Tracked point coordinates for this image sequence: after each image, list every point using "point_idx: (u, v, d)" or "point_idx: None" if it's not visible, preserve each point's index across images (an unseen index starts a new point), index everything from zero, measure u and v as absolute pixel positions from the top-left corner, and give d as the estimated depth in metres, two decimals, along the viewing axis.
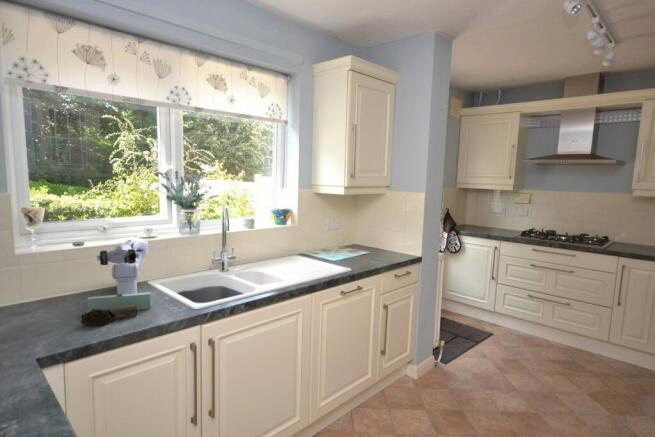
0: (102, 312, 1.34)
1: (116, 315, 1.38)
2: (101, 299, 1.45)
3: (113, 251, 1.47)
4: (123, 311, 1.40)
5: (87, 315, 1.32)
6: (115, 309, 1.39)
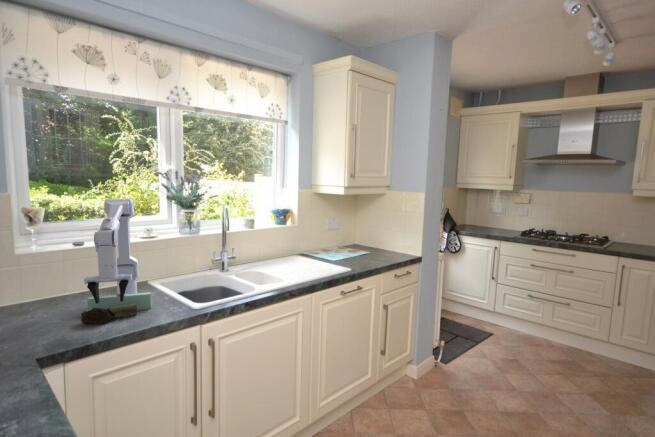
0: (101, 311, 1.35)
1: (116, 314, 1.39)
2: (101, 299, 1.45)
3: None
4: (123, 310, 1.40)
5: (87, 313, 1.33)
6: (115, 308, 1.40)
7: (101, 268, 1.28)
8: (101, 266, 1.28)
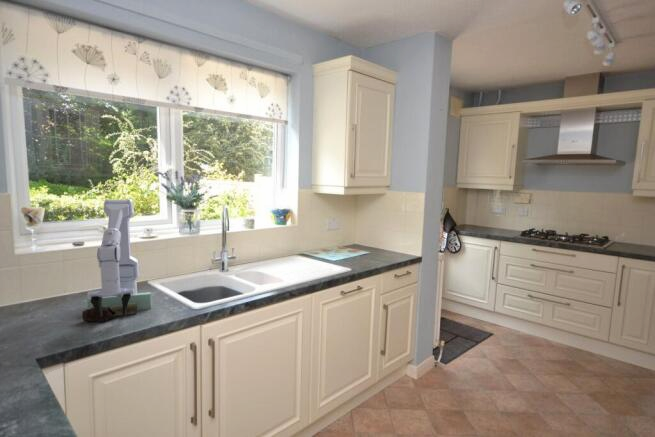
0: (102, 309, 1.36)
1: (116, 312, 1.41)
2: None
3: None
4: None
5: (87, 312, 1.35)
6: (115, 307, 1.41)
7: (104, 283, 1.31)
8: (104, 281, 1.31)
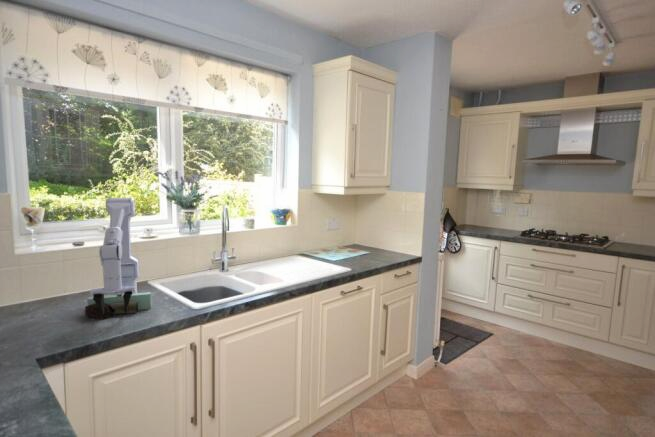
0: None
1: (116, 310, 1.43)
2: None
3: None
4: (123, 307, 1.43)
5: (88, 307, 1.39)
6: (116, 304, 1.43)
7: (106, 281, 1.34)
8: (106, 279, 1.34)
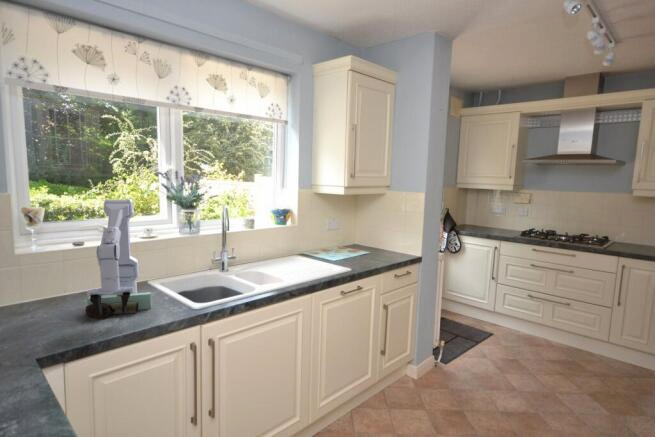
0: None
1: (116, 310, 1.43)
2: (101, 299, 1.45)
3: None
4: None
5: (89, 307, 1.40)
6: (116, 304, 1.44)
7: (103, 281, 1.31)
8: (103, 279, 1.31)
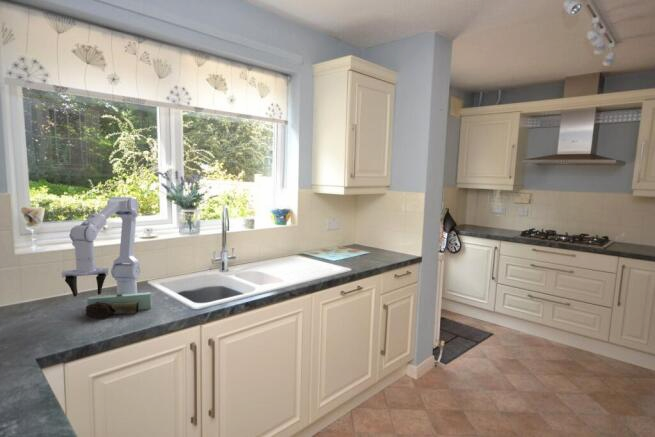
0: (101, 306, 1.39)
1: (116, 310, 1.43)
2: (101, 299, 1.45)
3: None
4: (123, 307, 1.43)
5: (89, 307, 1.40)
6: (116, 304, 1.43)
7: (78, 262, 1.32)
8: (78, 260, 1.32)
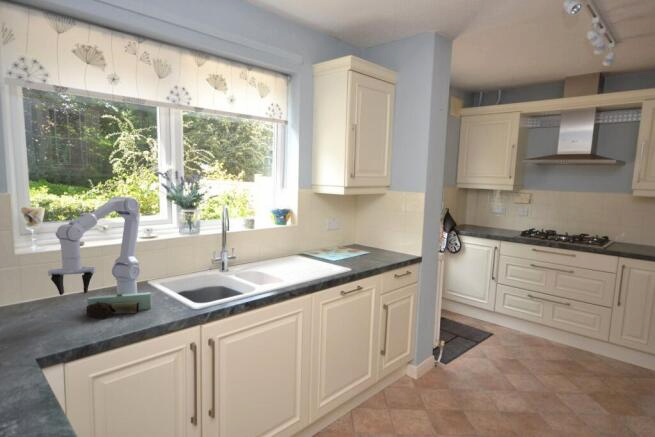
0: (101, 306, 1.39)
1: (116, 310, 1.43)
2: (101, 299, 1.45)
3: (64, 272, 1.35)
4: (123, 307, 1.43)
5: (89, 307, 1.40)
6: (117, 304, 1.43)
7: (64, 261, 1.34)
8: (64, 259, 1.34)
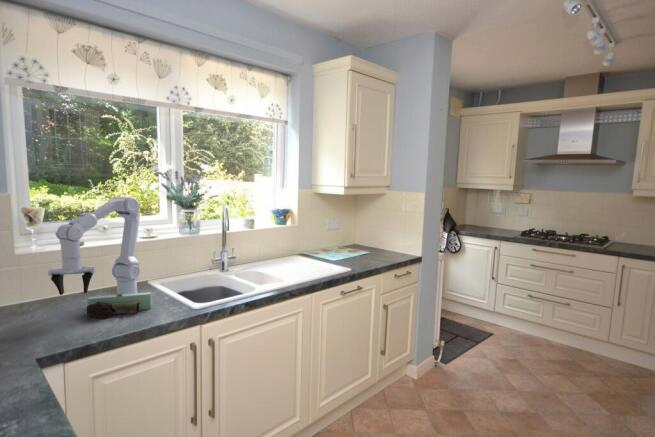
0: (101, 306, 1.40)
1: (116, 310, 1.43)
2: (101, 299, 1.45)
3: (64, 272, 1.35)
4: (124, 307, 1.43)
5: (90, 307, 1.40)
6: (117, 304, 1.43)
7: (64, 261, 1.34)
8: (64, 259, 1.34)
